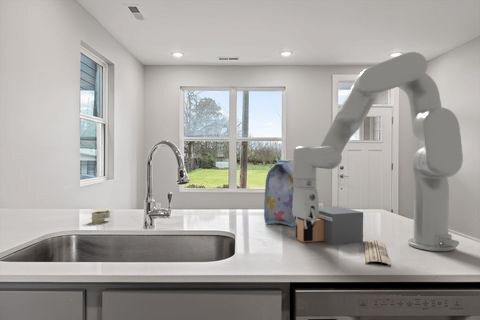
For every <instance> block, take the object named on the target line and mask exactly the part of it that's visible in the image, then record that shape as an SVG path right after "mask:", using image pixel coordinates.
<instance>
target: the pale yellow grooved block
mask: <svg viewBox="0 0 480 320" xmlns="http://www.w3.org/2000/svg"><path fill="white" fill-rule="evenodd" d="M105 210H106V211H105ZM109 210H111V208H107V207H106V208H105V207H104V208H103V207H99V208H94V209H92V211H94V212H90V215H91V218H90V219H91V223H95V224H99V223H103V222H105V220H106V219H110V218H111V217H112V216H111V215H110V214H111V211H109Z"/></svg>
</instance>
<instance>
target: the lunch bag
mask: <svg viewBox="0 0 480 320" xmlns="http://www.w3.org/2000/svg"><path fill="white" fill-rule="evenodd" d="M265 178H266V179H265V188H264V201H263V202H264V203H263V204H264V205H263V208H264V209H263V211H264V212H263V217H264V223H265V224H267V225H272V224H273V225H274V224H275V225H279V224H282V225H285V226H289V227H293V228H294V227H295V228H296V225H295V219H294V216H293V212H292V201H293V190H294V188H293V159H284V160H283V159H278V162H276V163H275V164H274V165H273V166H272V167H271V168H270V169H269V170H268V172H267V174H266V177H265Z"/></svg>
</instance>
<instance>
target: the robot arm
mask: <svg viewBox="0 0 480 320" xmlns="http://www.w3.org/2000/svg"><path fill="white" fill-rule="evenodd" d="M427 69H428V61H427V59H426V57H425V56H424V55H423V54H421V53H419V52H416V51H410V52H405V53H403V54H400V55H397V56H394V57H392V58H389V59H386V60H384V61H382V62H378V63H377V64H376V63H375V64H374V65H372V66H368V67H366V68H365V69H363V70H362V71H361V72H360V73H359V75H358V76H356V79H355V81H354V82H353V84H352V86H351V87H350V90H349V91H348V93H347V94H346V96H345V98H344V101H343V103H341V105H340V107H339V110H338V111H337V113H336V115H335V118H334V119H333V122H332V124H331V125H330V128H329V130H328V131H327V133H326V136H324V139H323V141H322V142H321V144H320V146H317V147H314V146H296V147H295V148H294V149H293V154H292V155H293V158H292V160H293V188H294V190H293V201H292V212H293V216H294V219H295V225H296V226H295V238H297V219H304V226H305V229H303V240H304V241H312V240H313V228H314V225H315V224H316V223H317V219H318V218H319V207H320V206H319V205H320V204H319V194H318V193H319V192H318V189H317V168H318V169H325V170H333V169H336V168H337V167H338V166H340V164H341V162H342V158H343V156H342V153H343V151H344V149H345V147H346V145H347V144H348V142H349V141H350V139H351V138H352V137H353V135H354V134H355V133H357V131H358V130H359V129H360V128H361V127H362V125H363V123H364V121H365V120H366V118H367V116H368V114H369V112H370V110H371V108H372V107H373V105H374V103H375V102H376V99H377V98H378V96H379V94H380V93H383V92H386V91H389V90H392V89H395V88H399V89H401V90H403V92H404V93H405V94H406V95H407V98H408V102H409V108H410V117H411V127H412V133H413V135H414V137H415V138H417V140H420V141H422V142H424V146H422V147H420V148H419V149H418V150H417V151H416V152H415V154H414V155H413V158H412V172H413V173H412V175H413V183H414V187H413V188H414V189H413V190H414V191H413V193H414V195H413V196H414V197H413V198H414V199H413V238H409V239H408V241H407V242H408V243H407V244H408V245H409V246H411V247H413V248H416V249H419V250H424V251H425V250H426V251H433V252H451V251H453V250H455V248H457V247H458V246H459V245H460V241H459V240H455V239H452V238H453V237H452V236H453V235H452V234H451V233H449V220H450V219H449V217H450V216H449V212H450V211H449V210H450V187H449V185H450V183H449V179H448V178H450V177H454V176H455V175H456V174H458V173H459V171H461V168H462V166H463V161H464V159H463V156H464V155H463V146H462V136H461V128H460V127H461V126H460V123H459V120H458V118H457V116H456V114H455V113H454V112H453V111H452V110H450V109H448V108H445V107H442V102H441V97H440V95H441V94H440V91H439V90H440V89H439V87H438V85H437V83H436V82H435V80H434V79H433V78H432V77H431V76H430V75H429V74H428V73H426V72H427ZM309 217H310V219H308V218H309ZM307 221H310V222H309V223H307Z"/></svg>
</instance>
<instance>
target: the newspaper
mask: <svg viewBox="0 0 480 320" xmlns="http://www.w3.org/2000/svg"><path fill="white" fill-rule="evenodd" d="M363 245H364V258H365V263H366V264H367V265H368V264H369V263H374V262H376V263H378V262H379V263H384V264H386V265H387V267H391V262H390V259H389V254H388V251H387V248H386V247H385V246H386V245H385V243H384V242H383V241H381V240H374V239H372V240H369V239H368V240H365V241H364V240H363Z"/></svg>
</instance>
